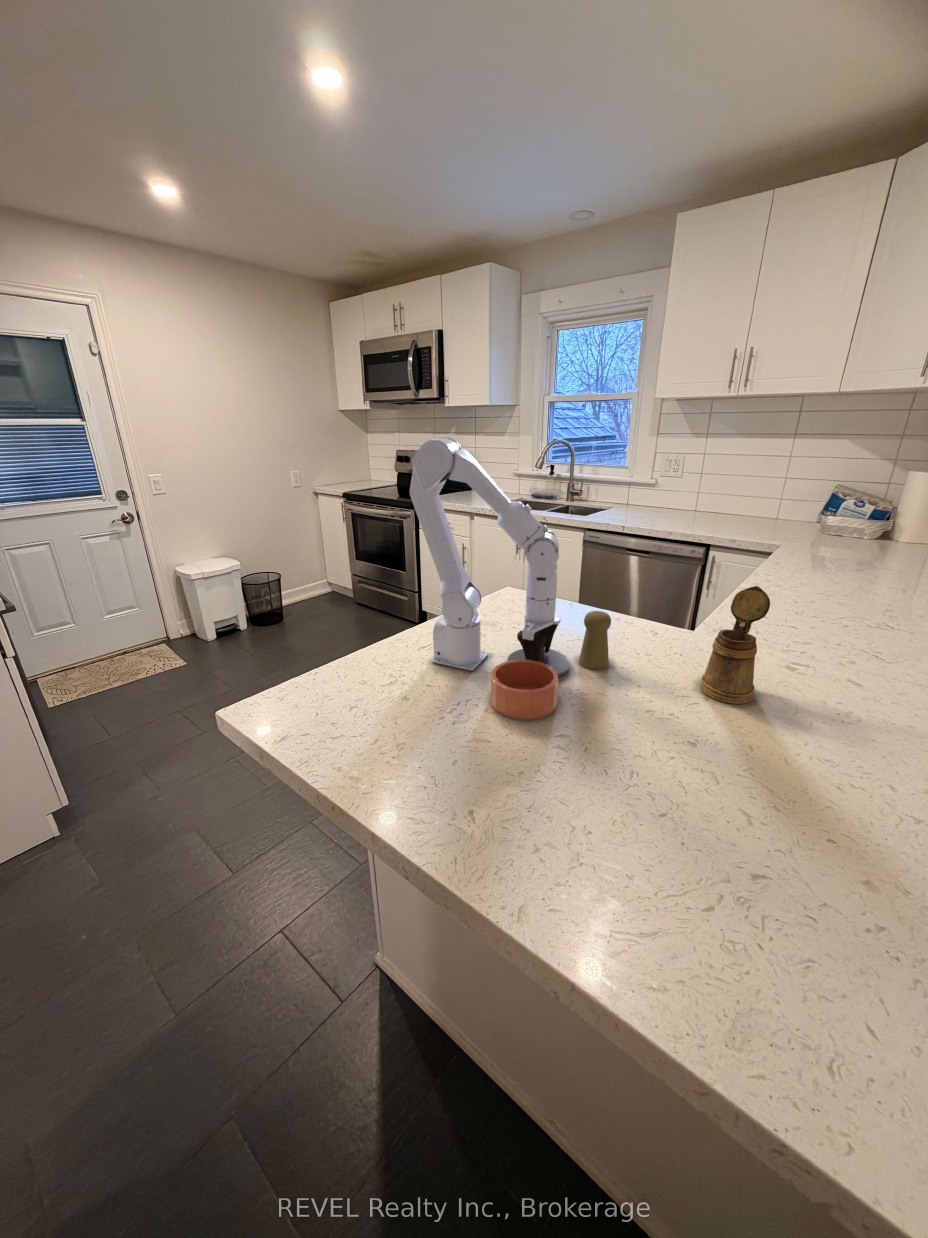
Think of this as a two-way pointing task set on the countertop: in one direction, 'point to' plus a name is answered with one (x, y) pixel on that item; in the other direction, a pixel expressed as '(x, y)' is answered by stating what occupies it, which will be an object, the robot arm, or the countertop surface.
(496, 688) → the terracotta bowl
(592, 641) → the olive green pepper mill
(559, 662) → the lid
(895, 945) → the countertop surface
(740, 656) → the wooden mug
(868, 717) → the countertop surface
